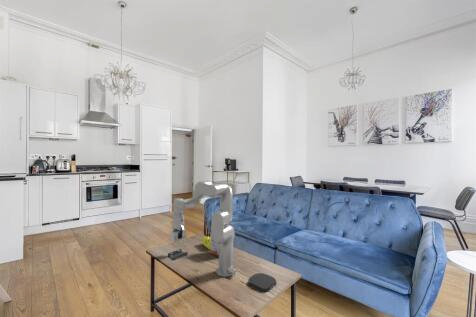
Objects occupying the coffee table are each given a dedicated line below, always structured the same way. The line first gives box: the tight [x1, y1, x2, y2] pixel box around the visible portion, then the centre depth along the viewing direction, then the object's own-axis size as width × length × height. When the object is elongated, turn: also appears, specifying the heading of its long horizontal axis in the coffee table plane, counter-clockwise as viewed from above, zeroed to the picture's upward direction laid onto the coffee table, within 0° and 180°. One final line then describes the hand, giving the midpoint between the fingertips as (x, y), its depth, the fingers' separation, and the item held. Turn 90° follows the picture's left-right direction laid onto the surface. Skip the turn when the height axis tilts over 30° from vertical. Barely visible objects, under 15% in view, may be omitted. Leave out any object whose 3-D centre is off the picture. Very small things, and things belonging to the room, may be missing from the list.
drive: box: [169, 228, 187, 243], centre depth 171 cm, size 5×11×7 cm, turn 138°
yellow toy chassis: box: [202, 235, 210, 251], centre depth 189 cm, size 16×6×8 cm, turn 32°
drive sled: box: [167, 248, 188, 261], centre depth 171 cm, size 9×12×2 cm
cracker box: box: [209, 227, 219, 257], centre depth 175 cm, size 14×6×21 cm, turn 53°
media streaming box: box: [247, 272, 277, 293], centre depth 134 cm, size 15×15×3 cm
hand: (178, 237), depth 171 cm, fingers closed on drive, 5 cm apart
